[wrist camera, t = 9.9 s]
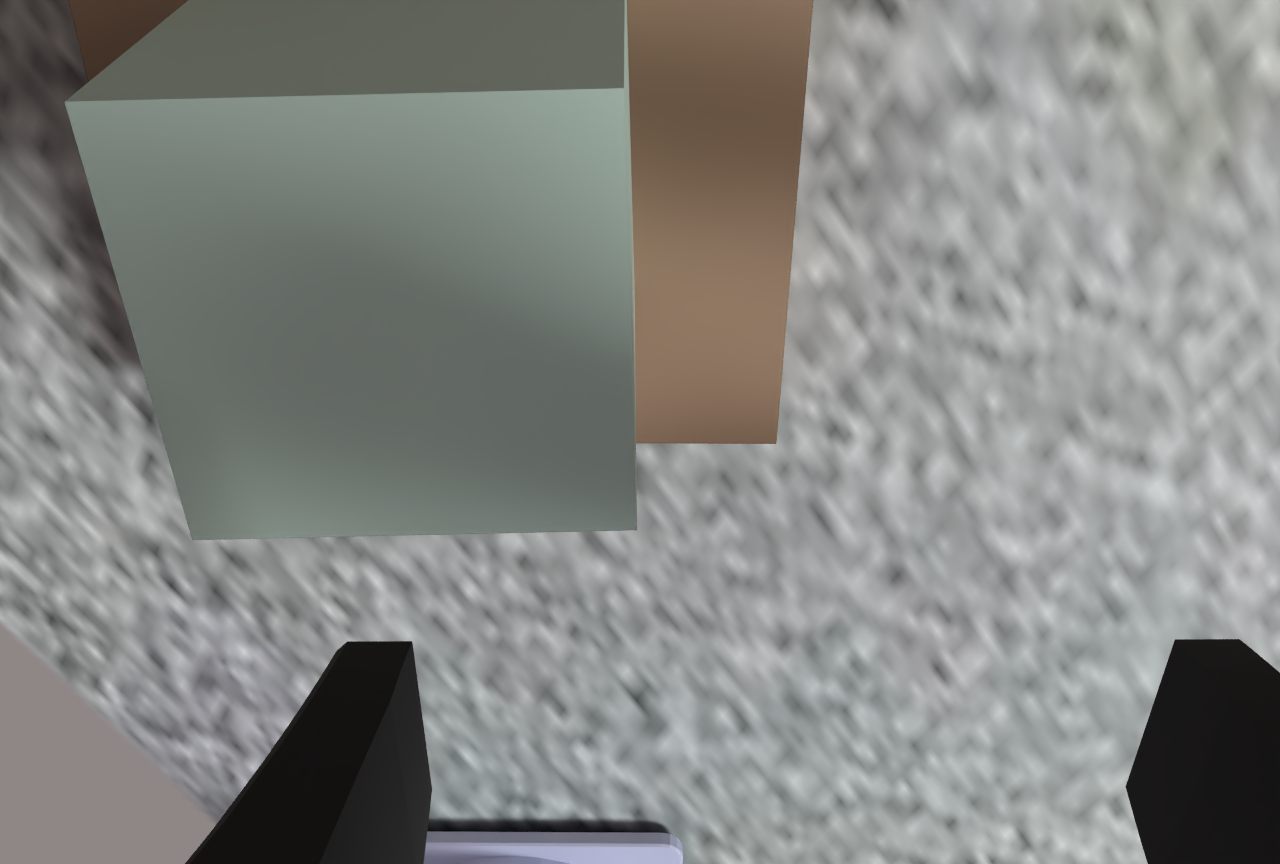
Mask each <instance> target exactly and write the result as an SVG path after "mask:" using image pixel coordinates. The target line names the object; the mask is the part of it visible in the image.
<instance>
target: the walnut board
mask: <svg viewBox="0 0 1280 864" xmlns="http://www.w3.org/2000/svg"><path fill="white" fill-rule="evenodd" d="M68 1H69V5H70V9H71V13H72V17H73V21H74V25H75V29H76V33H77V37H78V41H79V45H80V49H81V53H82V57H83V61H84V66H85V70H86V74H87V78H88V82H89V81H90V80H92V79H93V78H94V77H95V76H97V75H98V74H99V73H100V72H101V71H103V70H104V69H105V68H106V67H108V66H109V65H110V64H111V63H112V62H114V61H115V60H116V59H117V58H119V57H120V56H121V55H122V54H123V53H125V52H126V51H127V50H128V49H130V48H131V47H132V46H133V45H134V44H136V43H137V42H138V41H139V40H141V39H142V38H143V37H144V36H145V35H147V34H148V33H149V32H150V31H152V30H153V29H154V28H155V27H156V26H158V25H159V24H160V23H161V22H163V21H164V20H165V19H166V18H167V17H169V16H170V15H171V14H172V13H174V12H175V11H176V10H177V9H178V8H180V7H181V6H182V5H183V4H185V3H186V2H187V1H188V0H68ZM812 9H813V0H627V30H628V67H629V104H630V141H631V178H632V215H633V252H634V291H635V392H636V443H707V444H776V441H777V429H778V417H779V405H780V393H781V381H782V369H783V357H784V345H785V333H786V321H787V309H788V297H789V285H790V273H791V261H792V249H793V237H794V225H795V213H796V201H797V189H798V177H799V165H800V153H801V141H802V129H803V117H804V105H805V93H806V81H807V69H808V57H809V45H810V33H811V21H812Z"/></svg>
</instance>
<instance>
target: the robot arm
mask: <svg viewBox="0 0 1280 864" xmlns="http://www.w3.org/2000/svg"><path fill="white" fill-rule="evenodd" d="M1126 789H1127V793H1128V797H1129V800H1130V804H1131V807H1132V811H1133V814H1134V818H1135V822H1136V825H1137V829H1138V832H1139V836H1140V839H1141V843H1142V846H1143V849H1144V853H1145V856H1146V859H1147V862H1148V864H1280V673H1279V672H1278V671H1277V670H1276V669H1275V668H1273V667H1272V666H1271V665H1270V664H1269V663H1268V662H1266V661H1265V660H1264V659H1263V658H1262V657H1260V656H1259V655H1258V654H1257V653H1256V652H1254V651H1253V650H1252V649H1251V648H1249V647H1248V646H1247V645H1246V644H1245V643H1243V642H1242V641H1241V640H1240V639H1204V640H1175V641H1174V644H1173V647H1172V650H1171V653H1170V656H1169V659H1168V662H1167V665H1166V668H1165V671H1164V674H1163V677H1162V680H1161V683H1160V686H1159V689H1158V692H1157V695H1156V698H1155V701H1154V704H1153V707H1152V710H1151V713H1150V716H1149V719H1148V722H1147V725H1146V728H1145V731H1144V734H1143V737H1142V740H1141V743H1140V746H1139V749H1138V752H1137V755H1136V758H1135V761H1134V764H1133V767H1132V770H1131V773H1130V776H1129V779H1128V781H1127V784H1126ZM431 793H432V786H431V779H430V771H429V764H428V756H427V749H426V741H425V734H424V726H423V719H422V712H421V704H420V697H419V689H418V682H417V674H416V667H415V659H414V652H413V645H412V641H400V642H347V643H345V644H344V645H343V646H342V647H341V648H340V649H338V650H337V651H336V653H335V655H334V656H333V658H332V660H331V661H330V663H329V664H328V666H327V668H326V669H325V671H324V672H323V674H322V676H321V677H320V679H319V680H318V682H317V683H316V685H315V686H314V688H313V690H312V691H311V693H310V694H309V696H308V697H307V699H306V700H305V702H304V703H303V705H302V706H301V708H300V709H299V711H298V712H297V714H296V715H295V717H294V718H293V720H292V721H291V723H290V724H289V726H288V727H287V729H286V730H285V731H284V733H283V734H282V736H281V737H280V739H279V740H278V741H277V743H276V744H275V746H274V747H273V749H272V750H271V752H270V753H269V754H268V756H267V757H266V759H265V760H264V761H263V763H262V764H261V765H260V767H259V768H258V770H257V771H256V772H255V774H254V775H253V776H252V778H251V779H250V780H249V782H248V783H247V784H246V786H245V787H244V788H243V790H242V791H241V792H240V794H239V795H238V796H237V798H236V799H235V801H234V802H233V803H232V805H231V806H230V807H229V809H228V810H227V811H226V813H225V814H224V815H223V817H222V818H221V819H220V821H219V822H218V823H217V825H216V826H215V827H214V829H213V830H212V831H211V832H210V834H209V835H208V836H207V838H206V839H205V840H204V841H203V843H202V844H201V845H200V846H199V847H198V849H197V850H196V851H195V852H194V853H193V855H192V856H191V857H190V858H189V860H188V861H187V862H186V863H185V864H682V862H683V852H682V844H681V841H680V840H679V839H678V838H677V837H675V836H673V835H671V834H668V833H632V832H439V831H427V830H428V821H429V811H430V802H431Z"/></svg>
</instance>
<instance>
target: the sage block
mask: <svg viewBox="0 0 1280 864" xmlns="http://www.w3.org/2000/svg"><path fill="white" fill-rule="evenodd" d="M65 105H66V109H67V112H68V116H69V119H70V122H71V126H72V129H73V133H74V136H75V140H76V143H77V146H78V150H79V153H80V157H81V160H82V164H83V167H84V170H85V174H86V177H87V181H88V184H89V188H90V191H91V194H92V198H93V201H94V205H95V208H96V212H97V215H98V218H99V222H100V225H101V229H102V232H103V235H104V239H105V242H106V246H107V249H108V253H109V256H110V259H111V263H112V266H113V270H114V273H115V277H116V280H117V283H118V287H119V290H120V294H121V297H122V301H123V304H124V307H125V311H126V314H127V318H128V321H129V324H130V328H131V331H132V335H133V338H134V342H135V345H136V348H137V352H138V355H139V359H140V362H141V366H142V369H143V372H144V376H145V379H146V383H147V386H148V390H149V393H150V396H151V400H152V403H153V407H154V410H155V413H156V417H157V420H158V424H159V427H160V431H161V434H162V437H163V441H164V444H165V448H166V451H167V455H168V458H169V461H170V465H171V468H172V472H173V475H174V479H175V482H176V485H177V489H178V492H179V496H180V499H181V503H182V506H183V509H184V513H185V516H186V520H187V523H188V526H189V530H190V533H191V537H192V540H219V539H264V538H309V537H354V536H399V535H444V534H488V533H533V532H578V531H623V530H637V493H636V392H635V291H634V252H633V215H632V178H631V141H630V104H629V67H628V30H627V0H188V1H187V2H186V3H185V4H183V5H182V6H181V7H180V8H178V9H177V10H176V11H175V12H174V13H172V14H171V15H170V16H169V17H167V18H166V19H165V20H164V21H163V22H161V23H160V24H159V25H158V26H156V27H155V28H154V29H153V30H152V31H150V32H149V33H148V34H147V35H145V36H144V37H143V38H142V39H141V40H139V41H138V42H137V43H136V44H134V45H133V46H132V47H131V48H130V49H128V50H127V51H126V52H125V53H123V54H122V55H121V56H120V57H119V58H117V59H116V60H115V61H114V62H112V63H111V64H110V65H109V66H108V67H106V68H105V69H104V70H103V71H101V72H100V73H99V74H98V75H97V76H95V77H94V78H93V79H92V80H90V81H89V82H88V83H87V84H86V85H84V86H83V87H82V88H81V89H79V90H78V91H77V92H76V93H75V94H73V95H72V96H71V97H70V98H68V99H67V100H66V101H65Z"/></svg>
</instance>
